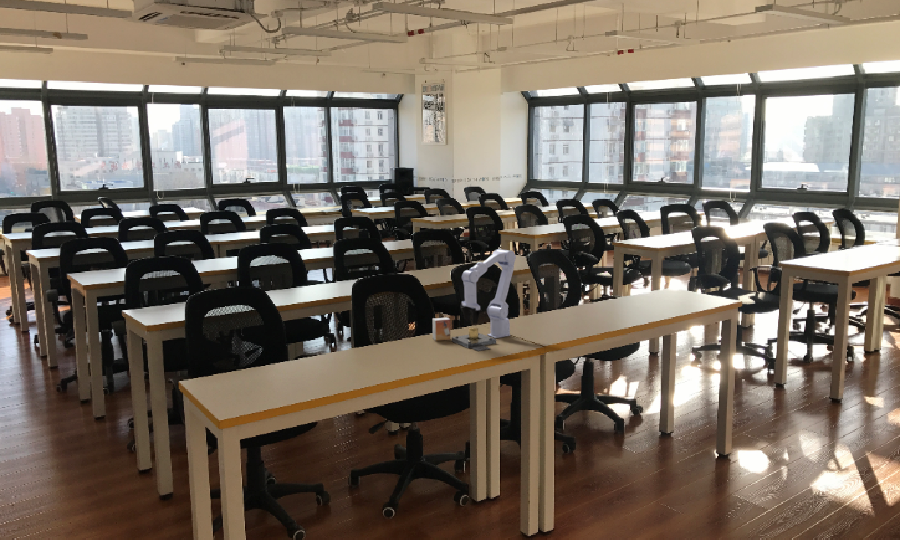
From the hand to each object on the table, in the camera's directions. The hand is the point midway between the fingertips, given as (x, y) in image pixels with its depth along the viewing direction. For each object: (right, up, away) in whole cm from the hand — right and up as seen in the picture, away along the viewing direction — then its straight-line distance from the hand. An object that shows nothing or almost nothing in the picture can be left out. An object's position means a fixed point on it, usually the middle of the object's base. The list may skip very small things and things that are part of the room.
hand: (471, 322), depth 349 cm
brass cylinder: (+1, -10, +2) cm, 10 cm away
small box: (-14, -10, +9) cm, 20 cm away
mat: (+4, -12, -10) cm, 16 cm away
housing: (+1, -10, +2) cm, 10 cm away
